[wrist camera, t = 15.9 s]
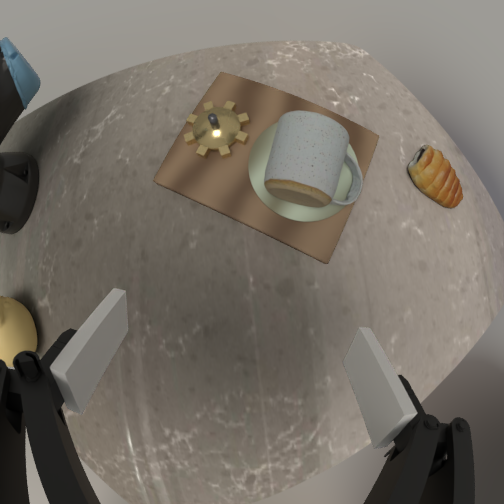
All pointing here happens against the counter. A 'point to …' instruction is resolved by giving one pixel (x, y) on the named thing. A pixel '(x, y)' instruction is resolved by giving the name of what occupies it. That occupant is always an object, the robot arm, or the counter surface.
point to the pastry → (436, 177)
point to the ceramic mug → (310, 160)
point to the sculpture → (15, 330)
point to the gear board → (262, 169)
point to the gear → (217, 129)
